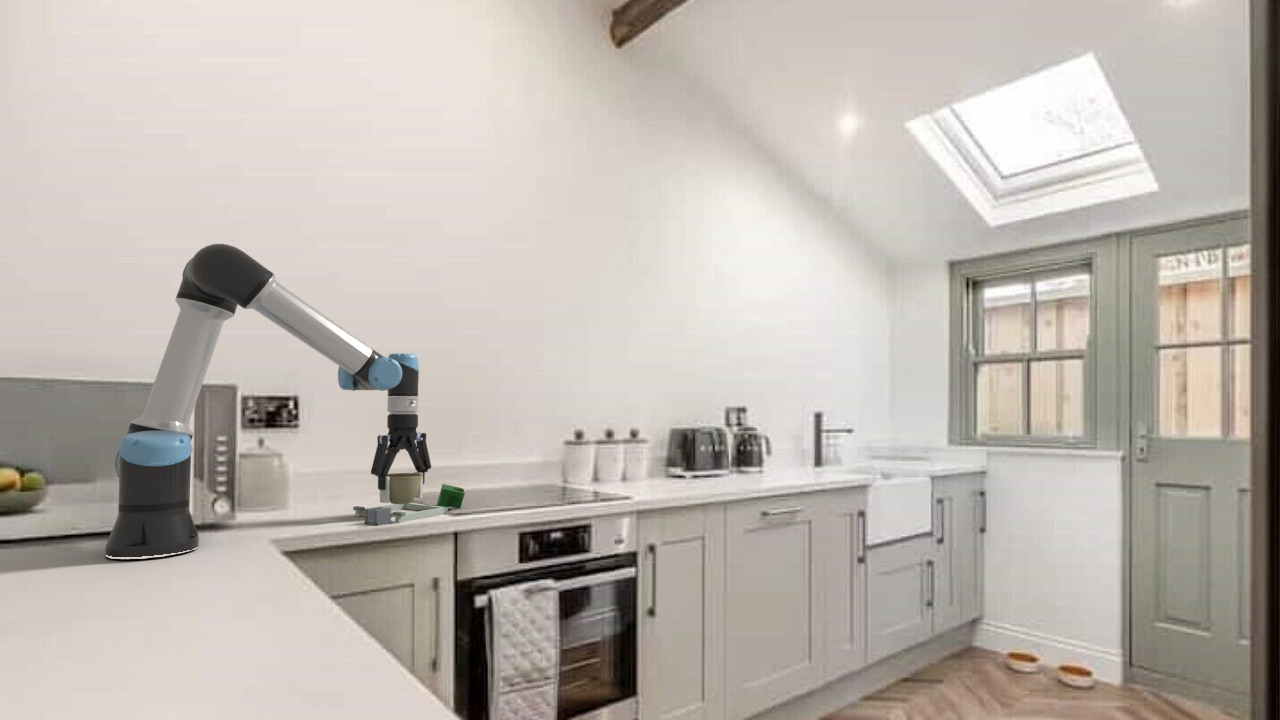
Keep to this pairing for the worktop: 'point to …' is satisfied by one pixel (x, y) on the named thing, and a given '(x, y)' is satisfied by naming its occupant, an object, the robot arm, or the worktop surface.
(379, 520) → the clip
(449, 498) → the clamp
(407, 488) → the flower pot
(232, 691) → the worktop surface
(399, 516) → the holder
